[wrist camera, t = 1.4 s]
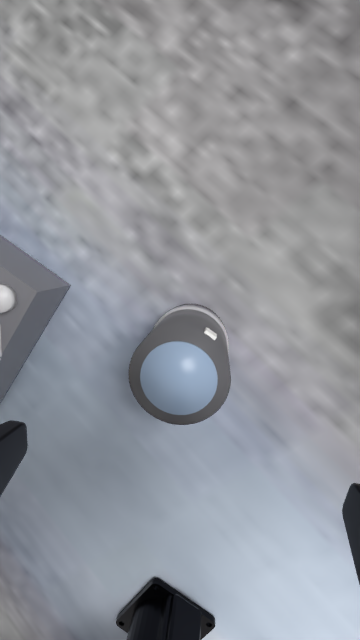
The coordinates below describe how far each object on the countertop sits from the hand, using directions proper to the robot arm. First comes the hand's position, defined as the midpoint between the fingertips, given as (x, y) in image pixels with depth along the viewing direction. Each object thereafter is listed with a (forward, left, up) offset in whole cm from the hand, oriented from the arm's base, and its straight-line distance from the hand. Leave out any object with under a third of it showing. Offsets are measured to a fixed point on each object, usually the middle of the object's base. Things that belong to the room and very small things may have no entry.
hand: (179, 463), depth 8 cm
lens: (0, +1, -13) cm, 13 cm away
